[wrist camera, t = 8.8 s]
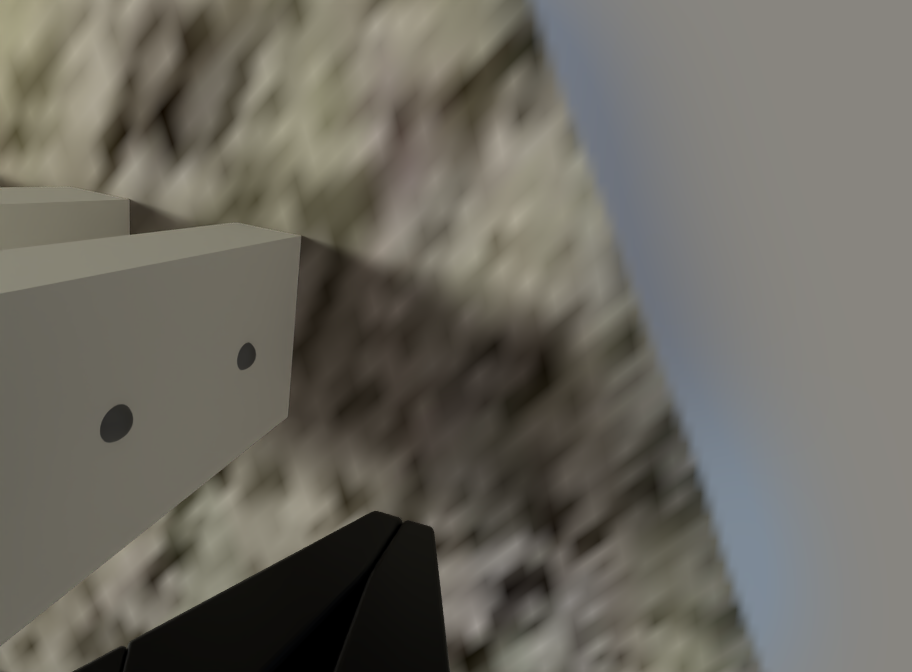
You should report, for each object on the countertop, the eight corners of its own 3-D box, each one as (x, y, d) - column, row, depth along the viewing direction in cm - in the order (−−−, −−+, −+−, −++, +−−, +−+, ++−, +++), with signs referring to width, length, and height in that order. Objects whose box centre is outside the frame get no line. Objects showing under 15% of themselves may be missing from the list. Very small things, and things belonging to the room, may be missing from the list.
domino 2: (294, 418, 15) (4, 657, 7) (229, 401, 15) (-111, 612, 8) (308, 236, 13) (-37, 307, 6) (236, 222, 14) (-178, 271, 6)
